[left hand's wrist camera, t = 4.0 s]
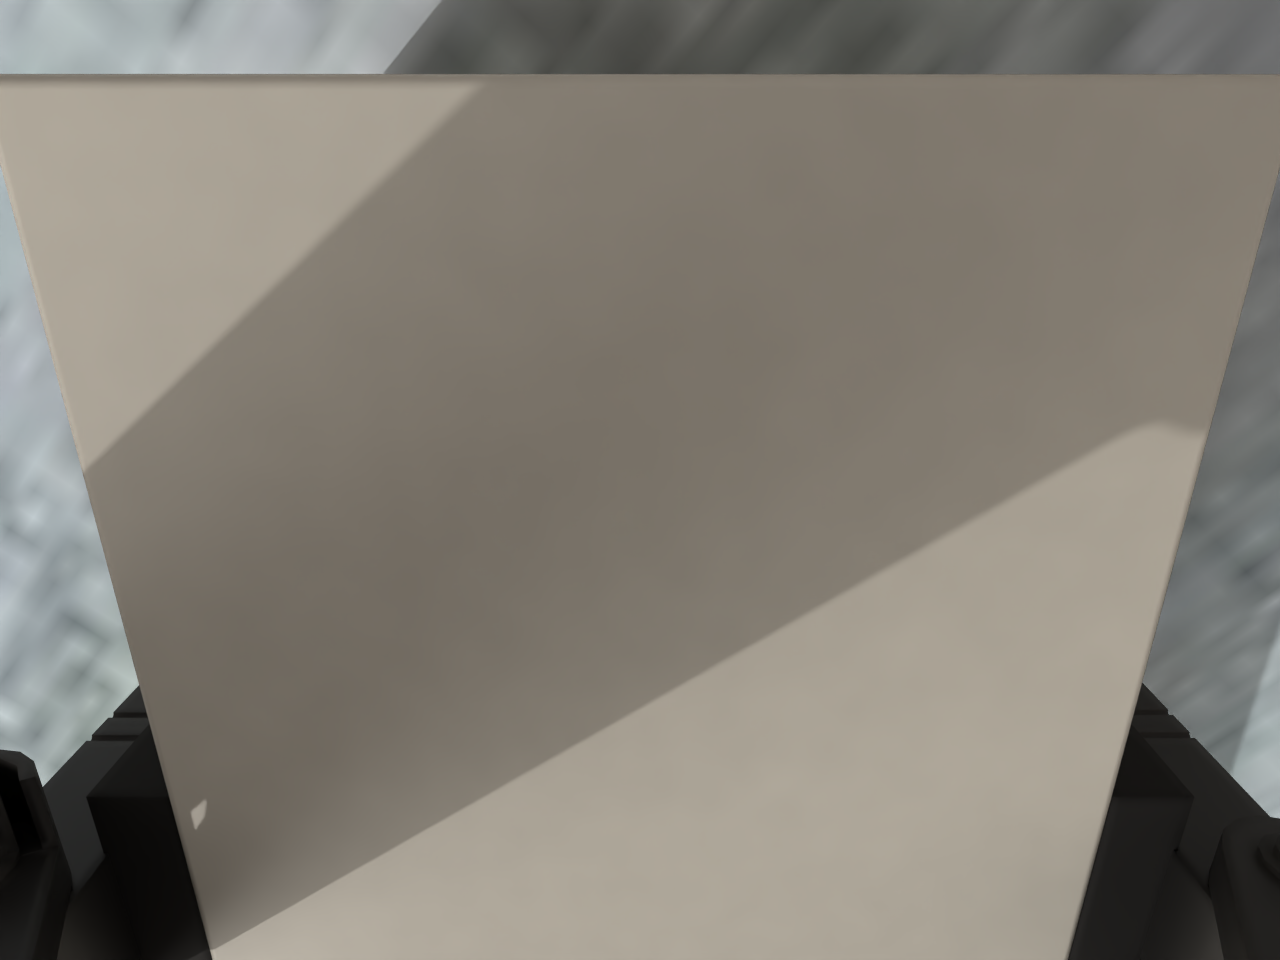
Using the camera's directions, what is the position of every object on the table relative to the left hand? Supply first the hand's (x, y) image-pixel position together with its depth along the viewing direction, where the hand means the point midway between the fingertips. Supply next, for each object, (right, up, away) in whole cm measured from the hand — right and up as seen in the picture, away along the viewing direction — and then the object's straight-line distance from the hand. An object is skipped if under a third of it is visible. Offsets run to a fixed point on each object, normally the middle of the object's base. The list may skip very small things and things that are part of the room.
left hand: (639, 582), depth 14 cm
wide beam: (0, -19, +8) cm, 20 cm away
